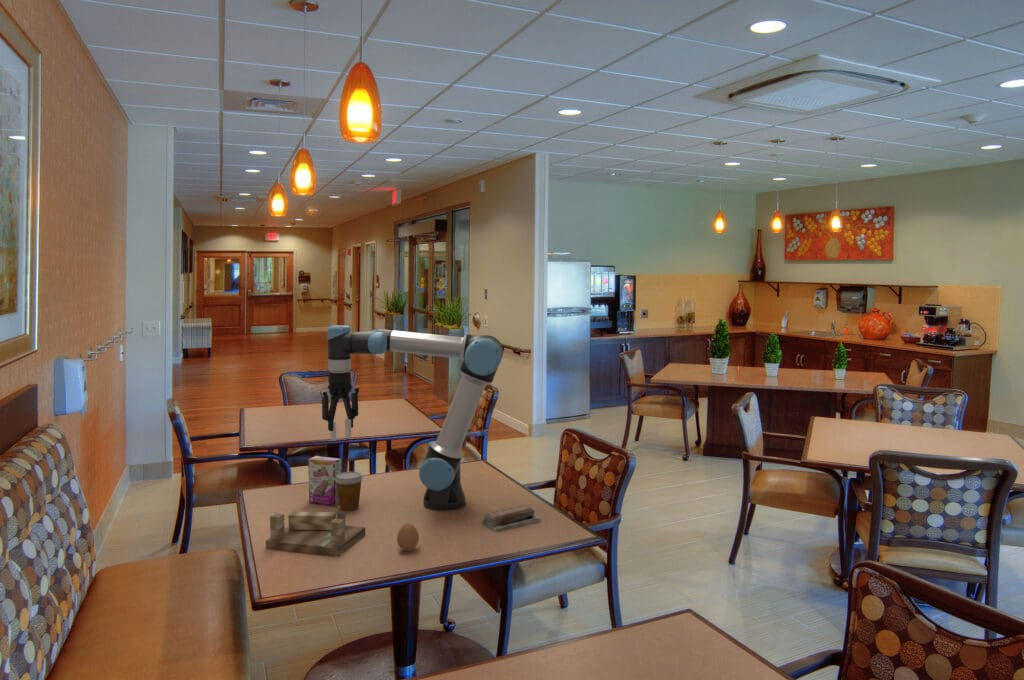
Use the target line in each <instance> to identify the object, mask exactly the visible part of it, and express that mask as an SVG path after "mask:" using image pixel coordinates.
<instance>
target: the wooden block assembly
mask: <svg viewBox="0 0 1024 680" xmlns="http://www.w3.org/2000/svg"><path fill="white" fill-rule="evenodd" d="M330 525H331V530H297V529H289V525H288V526H287V527H286V526H285V513H280V512H278V513H277V512H275V513H273V514H272V515H270V516H269V529H270V531H269V533H270V534H269V535H270V537H269V538H268V539H266V540H265V549H267V550H275V551H276V550H277V551H282V550H284V552H291V551H292V552H293V553H302V554H309V555H317V556H326V555H328V556H327V557H334V556H338V557H340V556H341V555H342V554H343V553H345V552H346V551H347V550H349V549H350V548H351V547H352V546H353V545H354V544H356V543H357V542H358V541H360V540H361V539H362V538H364V537H365V536H366V527H365V526H354V525H346V511H338V512H336V519H334V520H333V521H331V522H330ZM349 547H350V548H349ZM345 550H346V551H345ZM344 551H345V552H344ZM292 552H291V553H292ZM341 553H342V554H341ZM340 554H341V555H340ZM339 555H340V556H339Z"/></svg>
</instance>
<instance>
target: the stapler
mask: <svg viewBox="0 0 1024 680" xmlns="http://www.w3.org/2000/svg"><path fill="white" fill-rule="evenodd" d="M541 520H542V519H541V517H539V516H536V515H535V509H534V508H532V507H531V506H529V505H528V506H527V505H520V506H515V507H508V508H503V509H499V510H494V511H489V512H485V513H484V517H483V519H482V520H479V521H480V524H482V525H483V526H485V527H487V528H488V529H489V530H492V531H494V532H496V533H497V532H500V531H505V530H510V529H511V530H512V529H515V528H519V527H523V526H528V525H533V524H536V523H537V524H538V523H540V522H541Z"/></svg>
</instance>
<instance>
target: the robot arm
mask: <svg viewBox="0 0 1024 680" xmlns="http://www.w3.org/2000/svg"><path fill="white" fill-rule="evenodd" d="M326 343H327V369H328V371H329V372H328V373H327V376H328V377H327V380H328V381H327V382H328V387H327V389H325V390H321V391H320V395H321V396H320V397H321V414H322V415H321V419H322V420H324V421H327V431H329V432H330V433H329V434H330V435H329V436H330V441H333V442H336V441H337V421H335V417H336V412H337V407H338V403H339V400H340V399H341V400H342V402H343V406H344V410H345V414H346V418H345V419H344V424H345V425H344V427H345V431H344V433H345V438H346V439H352V429H353V428H354V420H355V419H356V417H358V416H359V393H360V388H359V387H356V386H353V385H352V372H351V370H352V357H351V355H356V354H357V355H375V356H376V355H384V354H385V353H386V352H396V353H406V354H415V355H421V356H422V355H423V356H424V355H425V356H433V357H440V358H441V357H443V358H453V359H459V360H461V361H462V363H461V365H460V368H459V372H460V374H461V378H460V381H459V384H458V386H457V387H456V391H455V394H454V395H453V398H452V401H451V403H450V406H449V409H448V411H447V413H446V416H445V419H444V421H443V423H442V427H441V429H440V431H439V434H438V436H437V439H436V440H431V441H429V442H428V444H427V452H426V455H425V457H424V460H423V461H422V463H421V464H420V467H419V472H418V474H419V478H420V481H421V483H422V484H423V485H424V486H425V487H426V489H425V493H424V494H423V499H422V501H423V503H422V504H423V507H425V508H426V509H429V510H434V511H452V510H453V511H454V510H458V509H460V508H463V507H464V506H465V505H466V495H465V493H464V489H463V487H462V483H461V477H462V476H461V474H462V473H461V462H462V459H463V453H462V446H463V443H464V441H465V439H466V436H467V433H468V431H469V429H470V426H471V424H472V423H473V418H474V417H475V414H476V411H477V409H478V406H479V404H480V401H481V399H482V397H483V394H484V391H485V388H486V386H488V385H490V384H492V383H493V381H494V378H495V376H496V373H497V371H498V368H499V366H500V364H501V362H502V359H503V356H504V348H503V345H502V343H501V342H500V340H498V339H497V338H496V337H495V336H492V335H487V334H486V335H485V334H481V335H480V334H479V335H475V334H474V335H473V334H472V335H471V334H465V335H464V336H463V337H462V336H453V335H445V334H443V335H442V334H434V333H426V332H425V333H424V332H416V331H415V332H414V331H403V330H395V329H393V330H391V329H386V328H383V327H376V328H372V329H371V330H367V331H353V330H351V327H350V326H349V325H344V324H343V325H342V324H340V325H330V326H329V327H327V338H326ZM350 393H351V395H350ZM329 396H330V399H329ZM350 396H351V397H350ZM350 399H351V400H350ZM329 400H330V402H329ZM329 403H330V404H329Z"/></svg>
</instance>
